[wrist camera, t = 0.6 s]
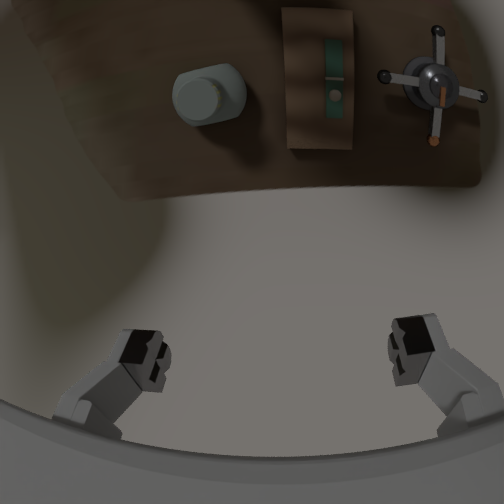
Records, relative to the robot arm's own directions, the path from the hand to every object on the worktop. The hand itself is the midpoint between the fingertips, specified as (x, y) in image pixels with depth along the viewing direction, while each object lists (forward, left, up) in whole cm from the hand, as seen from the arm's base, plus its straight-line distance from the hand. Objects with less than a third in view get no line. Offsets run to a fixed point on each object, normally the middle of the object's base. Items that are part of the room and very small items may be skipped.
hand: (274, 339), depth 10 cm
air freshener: (-4, -10, -42) cm, 44 cm away
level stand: (-6, +6, -42) cm, 43 cm away
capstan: (-7, +24, -41) cm, 48 cm away
